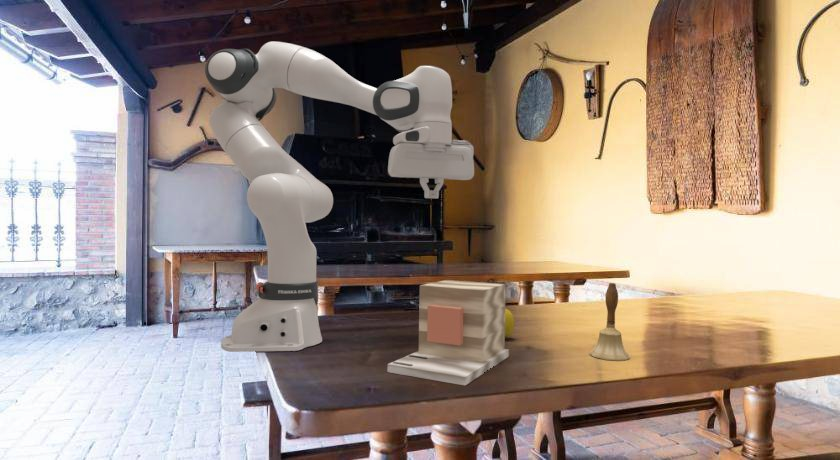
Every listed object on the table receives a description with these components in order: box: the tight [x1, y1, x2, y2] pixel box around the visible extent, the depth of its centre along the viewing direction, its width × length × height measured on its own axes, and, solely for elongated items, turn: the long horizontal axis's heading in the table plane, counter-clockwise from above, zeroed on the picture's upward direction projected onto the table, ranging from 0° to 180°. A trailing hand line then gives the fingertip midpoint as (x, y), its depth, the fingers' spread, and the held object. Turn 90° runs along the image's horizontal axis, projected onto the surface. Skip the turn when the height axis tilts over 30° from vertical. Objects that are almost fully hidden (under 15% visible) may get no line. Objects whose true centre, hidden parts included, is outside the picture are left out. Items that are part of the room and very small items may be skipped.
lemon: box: [505, 307, 515, 338], centre depth 129 cm, size 6×6×8 cm
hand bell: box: [589, 282, 631, 362], centre depth 114 cm, size 8×8×16 cm
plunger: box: [427, 305, 463, 345], centre depth 107 cm, size 12×7×7 cm, turn 152°
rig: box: [386, 279, 510, 386], centre depth 106 cm, size 24×16×16 cm
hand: (431, 198), depth 121 cm, fingers closed
